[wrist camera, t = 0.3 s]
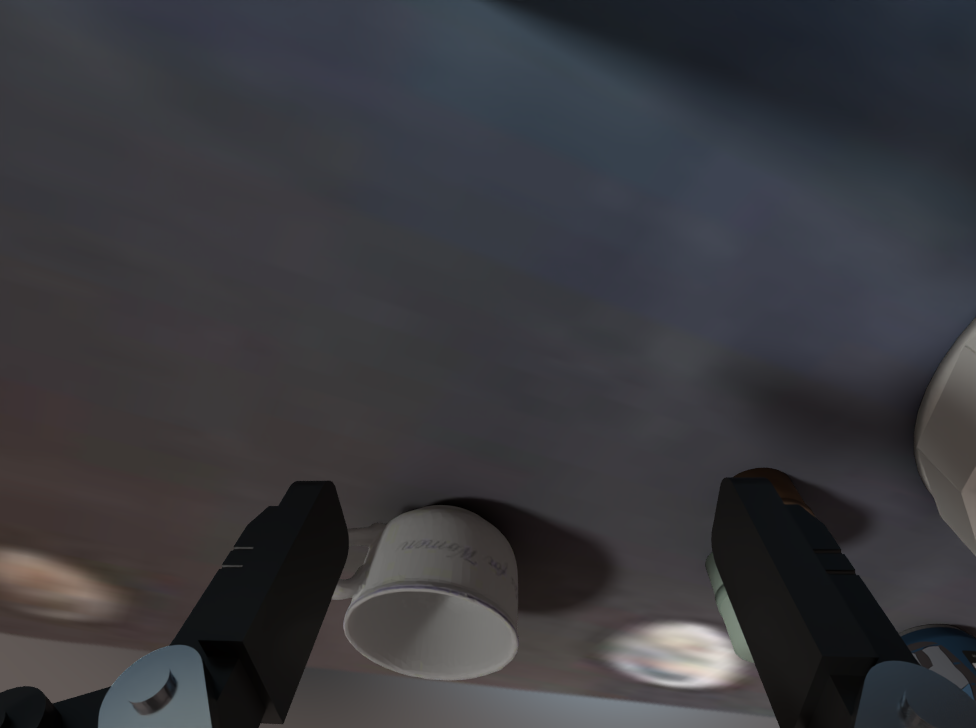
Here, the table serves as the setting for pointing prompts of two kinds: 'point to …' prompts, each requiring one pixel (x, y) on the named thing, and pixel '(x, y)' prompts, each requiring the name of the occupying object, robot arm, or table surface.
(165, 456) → the table surface
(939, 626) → the soda can
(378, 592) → the teacup
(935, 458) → the ring tray
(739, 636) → the sage bead
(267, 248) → the table surface
